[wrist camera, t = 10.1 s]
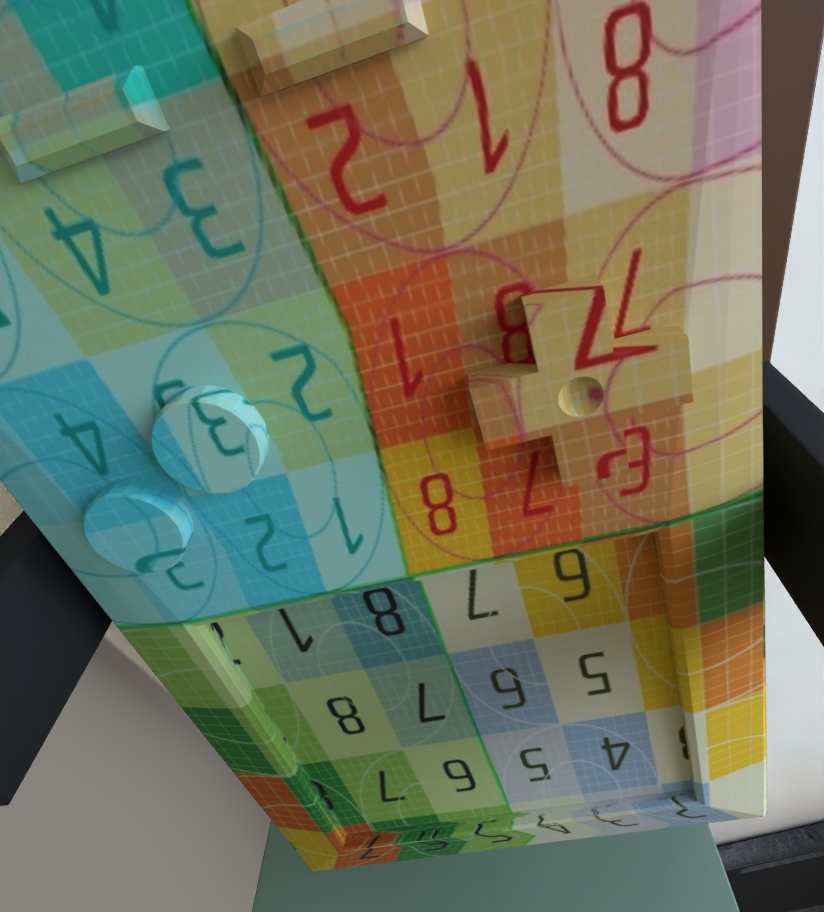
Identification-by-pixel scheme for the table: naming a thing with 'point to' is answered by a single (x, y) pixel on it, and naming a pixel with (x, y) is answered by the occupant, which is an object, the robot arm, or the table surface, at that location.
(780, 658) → the table surface
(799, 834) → the phone
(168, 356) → the puzzle game
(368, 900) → the step shelf
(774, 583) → the table surface
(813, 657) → the table surface
